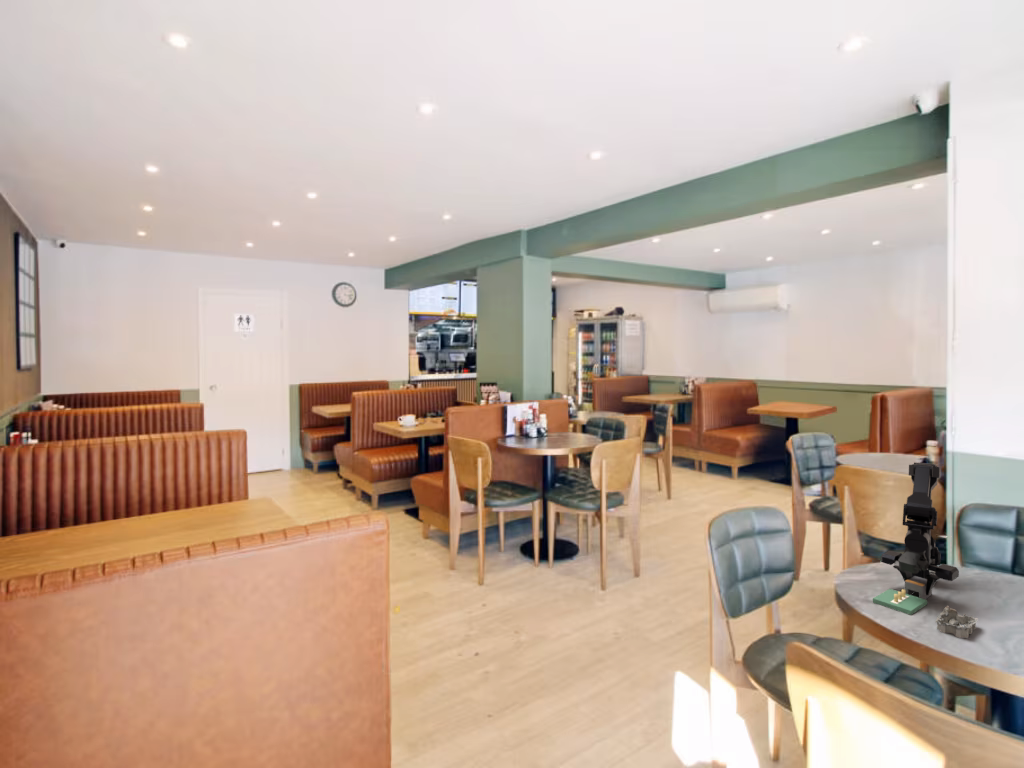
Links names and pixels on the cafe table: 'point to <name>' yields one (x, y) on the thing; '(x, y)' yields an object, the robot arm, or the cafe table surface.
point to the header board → (900, 601)
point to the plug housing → (917, 586)
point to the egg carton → (955, 623)
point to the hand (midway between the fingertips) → (918, 592)
